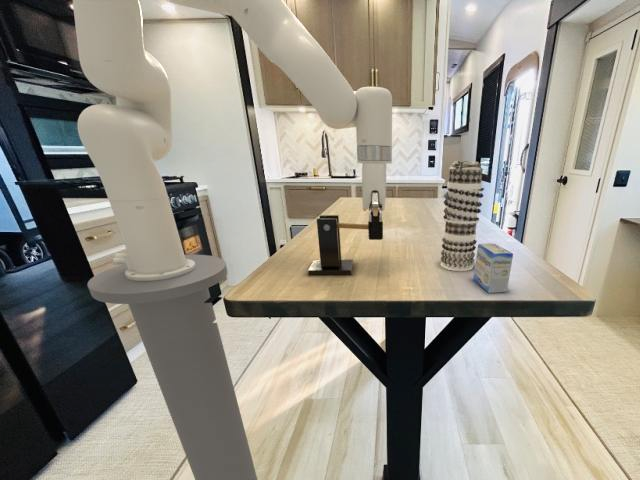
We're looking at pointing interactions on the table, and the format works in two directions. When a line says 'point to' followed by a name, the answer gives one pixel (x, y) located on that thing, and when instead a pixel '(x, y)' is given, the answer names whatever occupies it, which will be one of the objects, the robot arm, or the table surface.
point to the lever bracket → (329, 249)
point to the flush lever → (352, 226)
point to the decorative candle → (461, 215)
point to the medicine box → (492, 267)
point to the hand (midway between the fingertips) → (375, 234)
